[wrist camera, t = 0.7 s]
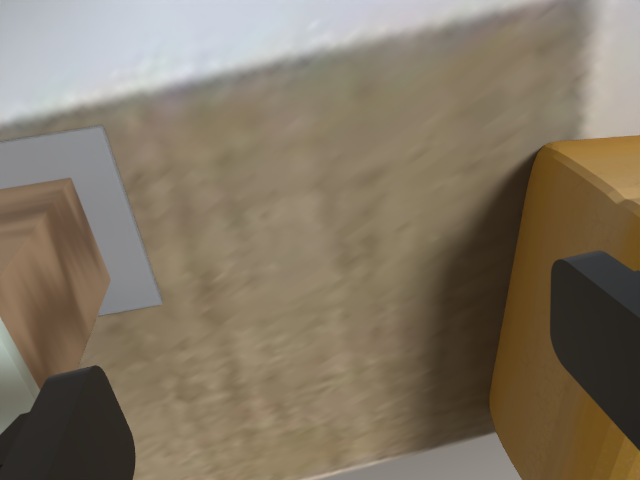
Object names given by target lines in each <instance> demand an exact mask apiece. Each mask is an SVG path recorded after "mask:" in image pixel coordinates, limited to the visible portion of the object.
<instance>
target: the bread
mask: <svg viewBox="0 0 640 480" xmlns="http://www.w3.org/2000/svg"><path fill="white" fill-rule="evenodd" d="M597 250H601V251H604V252H606V253H607V254H609V255H610V256H612V257H613V258H615V259H616V260H618V261H619V262H621V263H622V264H624V265H625V266H627V267H628V268H630V269H631V270H633V271H637V270H638V271H640V135H639V136H625V137H612V138H598V139H584V140H571V141H557V142H552V143H549V144H547V145H544V146H543V147H542V148H541V149H540V151H539V152H538V153H537V156H536V158H535V161H534V163H533V166H532V170H531V174H530V178H529V182H528V187H527V192H526V196H525V202H524V207H523V213H522V218H521V224H520V229H519V235H518V240H517V246H516V251H515V257H514V262H513V268H512V273H511V279H510V284H509V290H508V295H507V301H506V306H505V311H504V317H503V322H502V328H501V333H500V339H499V344H498V350H497V355H496V361H495V366H494V372H493V377H492V383H491V389H490V397H489V407H490V412H491V416H492V420H493V423H494V427H495V430H496V433H497V435H498V437H499V439H500V441H501V443H502V445H503V447H504V449H505V451H506V453H507V454H508V456H509V458H510V460H511V462H512V463H513V465H514V467H515V468H516V470H517V472H518V473H519V475H520V477H521V478H522V480H640V451H639V450H638V449H637V448H636V446H635V445H634V444H633V443H632V442H631V441H630V440H629V439H628V438H627V437H626V435H625V434H624V433H623V432H622V431H621V430H620V429H619V428H618V427H617V425H616V424H615V423H614V422H613V421H612V420H611V419H610V418H609V417H608V415H607V414H606V413H605V412H604V411H603V410H602V409H601V408H600V407H599V406H598V404H597V403H596V402H595V401H594V400H593V399H592V398H591V397H590V396H589V394H588V393H587V392H586V391H585V390H584V389H583V388H582V387H581V386H580V385H579V383H578V382H577V381H576V380H575V379H574V378H573V377H572V376H571V375H570V373H569V372H568V371H567V370H566V369H565V368H564V367H563V365H562V364H561V363H560V361H559V359H558V358H557V356H556V354H555V351H554V349H553V346H552V342H551V337H550V296H551V269H552V265H553V263H554V262H555V261H556V260H558V259H562V258H567V257H571V256H575V255H579V254H584V253H588V252H592V251H597Z"/></svg>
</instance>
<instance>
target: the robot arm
mask: <svg viewBox="0 0 640 480" xmlns="http://www.w3.org/2000/svg"><path fill="white" fill-rule="evenodd" d="M550 337H551V342H552V346H553V349H554V351H555V354H556V356H557V358H558V359H559V361H560V363H561V364H562V365H563V367H564V368H565V369H566V370H567V371H568V372H569V373H570V375H571V376H572V377H573V378H574V379H575V380H576V381H577V382H578V383H579V385H580V386H581V387H582V388H583V389H584V390H585V391H586V392H587V393H588V394H589V396H590V397H591V398H592V399H593V400H594V401H595V402H596V403H597V404H598V406H599V407H600V408H601V409H602V410H603V411H604V412H605V413H606V414H607V415H608V417H609V418H610V419H611V420H612V421H613V422H614V423H615V424H616V425H617V427H618V428H619V429H620V430H621V431H622V432H623V433H624V434H625V435H626V437H627V438H628V439H629V440H630V441H631V442H632V443H633V444H634V445H635V446H636V448H637V449H638V450H639V451H640V271H638V270H637V271H633V270H631V269H630V268H628V267H627V266H625V265H624V264H622V263H621V262H619V261H618V260H616V259H615V258H613V257H612V256H610V255H609V254H607V253H606V252H604V251H601V250H597V251H592V252H588V253H584V254H579V255H575V256H571V257H567V258H562V259H558V260H556V261H555V262H554V263H553V265H552V269H551V296H550ZM134 470H135V446H134V441H133V436H132V433H131V431H130V428H129V426H128V424H127V421H126V419H125V417H124V415H123V412H122V410H121V408H120V406H119V403H118V401H117V399H116V397H115V394H114V392H113V390H112V388H111V385H110V383H109V381H108V379H107V377H106V375H105V373H104V371H103V370H102V369H101V368H100V367H99V366H91V367H87V368H82V369H78V370H74V371H69V372H65V373H61V374H56V375H52V376H50V377H48V378H47V379H46V381H45V383H44V384H43V386H42V388H41V390H40V392H39V394H38V396H37V398H36V400H35V402H34V404H33V406H32V408H31V410H30V412H27V413H23V414H20V415H19V416H18V417H17V418H16V419H15V420H14V421H13V422H12V423H11V424H10V425H9V426H8V427H7V428H6V429H5V430H4V431H3V432H2V433H1V435H0V480H132V479H133V475H134Z"/></svg>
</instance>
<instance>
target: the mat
mask: <svg viewBox="0 0 640 480" xmlns="http://www.w3.org/2000/svg"><path fill="white" fill-rule="evenodd" d="M65 178H71V179H72V181H73V184H74V187H75V189H76V192H77V194H78V197H79V199H80V202H81V205H82V207H83V210H84V212H85V215H86V217H87V220H88V222H89V225H90V228H91V230H92V233H93V235H94V238H95V240H96V243H97V245H98V248H99V251H100V253H101V256H102V258H103V261H104V263H105V266H106V268H107V271H108V274H109V276H110V279H111V281H110V284H109V286H108V289H107V292H106V294H105V297H104V300H103V302H102V305H101V307H100V310H99V313H98V315H97V316H101V315H106V314H112V313H117V312H123V311H128V310H134V309H139V308H145V307H150V306H156V305H161V304H162V298H161V295H160V292H159V289H158V286H157V283H156V280H155V278H154V275H153V272H152V269H151V266H150V263H149V260H148V257H147V254H146V251H145V248H144V245H143V242H142V239H141V236H140V233H139V230H138V227H137V225H136V222H135V219H134V216H133V213H132V210H131V207H130V204H129V201H128V198H127V195H126V192H125V189H124V186H123V183H122V180H121V177H120V174H119V172H118V169H117V166H116V163H115V160H114V157H113V154H112V151H111V148H110V145H109V142H108V139H107V136H106V133H105V130H104V127H103V125H100V126H94V127H88V128H82V129H75V130H69V131H63V132H57V133H51V134H44V135H38V136H32V137H26V138H19V139H13V140H7V141H1V142H0V189H5V188H11V187H17V186H23V185H29V184H35V183H41V182H47V181H53V180H59V179H65Z"/></svg>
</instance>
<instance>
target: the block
mask: <svg viewBox="0 0 640 480" xmlns="http://www.w3.org/2000/svg"><path fill="white" fill-rule="evenodd" d="M110 281H111V279H110V276H109V274H108V271H107V268H106V266H105V263H104V261H103V258H102V256H101V253H100V251H99V248H98V245H97V243H96V240H95V238H94V235H93V233H92V230H91V228H90V225H89V222H88V220H87V217H86V215H85V212H84V210H83V207H82V205H81V202H80V199H79V197H78V194H77V192H76V189H75V187H74V184H73V181H72V179H71V178H65V179H59V180H53V181H47V182H41V183H35V184H29V185H23V186H17V187H11V188H5V189H0V435H1V433H2V432H3V431H4V430H5V429H6V428H7V427H8V426H9V425H10V424H11V423H12V422H13V421H14V420H15V419H16V418H17V417H18V416H19V415H20V414H23V413H27V412H30V410H31V408H32V406H33V404H34V402H35V400H36V398H37V396H38V394H39V392H40V390H41V388H42V386H43V384H44V383H45V381H46V379H47V378H48V377H50V376H52V375H56V374H61V373H65V372H69V371H74V370H77V368H78V365H79V363H80V360H81V358H82V355H83V352H84V350H85V347H86V344H87V342H88V339H89V336H90V334H91V331H92V329H93V326H94V323H95V321H96V318H97V315H98V313H99V310H100V307H101V305H102V302H103V300H104V297H105V294H106V292H107V289H108V286H109V284H110Z"/></svg>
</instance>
